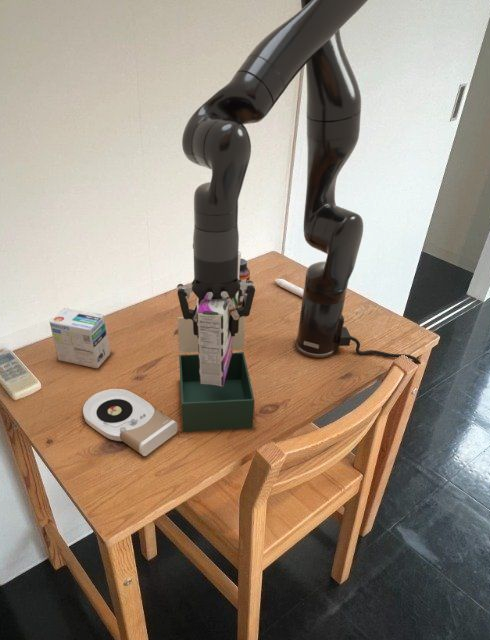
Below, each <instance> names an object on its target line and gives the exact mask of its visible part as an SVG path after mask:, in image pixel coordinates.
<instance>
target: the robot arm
mask: <svg viewBox="0 0 490 640" xmlns="http://www.w3.org/2000/svg"><path fill="white" fill-rule="evenodd" d="M368 1H369V0H300V10H299V11H298V12H297V13H295V14H293V16H291V17H290V18H288V19H287V20H285V21H284V22H283V23H282V24H280V25H279V26H277V27H276V28H275V29H273V30H272V31H271V32H270V33H268V34H267V35H266V36H265V37H264V38H263V39H262V40H260V42H259V43H258V44H257V45H256V46H255V47H253V50H251V52H250V53H249V54H248V55H247V57H246V59H245V60H244V61H243V62H242V63H241V65H240V67H239V68H238V69H237V71H236V72H235V74H234V75H233V77H232V78H231V80H230V81H229V82H228V83H227V84H225V86H223V87H221V88H220V89H219V90H218V91H216V92H215V93H214V94H213V95H212V96H211V97H210V98H208V99H207V100H206V101H205V102H204V103H202V104H201V106H199V107H198V109H196V110H195V111H194V113H193V114H192V115H191V117H190V118H189V119H188V121H187V122H186V125H185V127H184V130H183V133H182V136H181V137H182V139H181V146H182V147H181V148H182V151H183V153H184V156H185V157H186V158H187V160H188V161H190V162H191V163H192V164H194V165H197V166H200V167H203V168H205V169H208V170H211V179H210V181H208V182H204V183H201V184H200V185H199V186H197V187H196V188H195V191H194V194H193V225H194V226H193V234H192V235H193V237H192V249H193V281H192V282H191V284H187V285H184V284H183V283H178V284H177V285H176V291H177V297H178V302H179V305H180V309H181V315H182V317H183V318H184V319H191V320H192V321H193V332H194V335H197V338H198V331H197V310H198V307H199V305H200V302H201V300H202V302H210V301H211V300H212V299H223V300H224V301H228V310H229V312H230V313H231V314H230V334H231V337H232V336H235V333H238V330H239V318H240V317H242V316H245V318H247V317H249V316H250V313H251V310H252V305H253V301H254V297H255V293H256V287H255V284H254V281H252V280H250V281H248V282H247V283H243V282H239V280H238V251H240V250H239V248H240V233H239V199H240V196H241V192H242V189H243V185H244V182H245V177H246V175H247V171H248V168H249V164H250V160H251V155H252V141H251V137H250V134H249V130H248V129H247V127H246V126H245V125H250V124H257V123H260V122H262V121H263V120H264V119H265V118H266V117H267V116H268V114H269V113H270V112H271V111H272V109H273V108H274V106H275V104H276V103H277V102H278V101H279V99H280V98H281V97H282V95H283V94H284V93H285V91H286V90H287V88H288V87H289V86H290V84H291V83H292V81H293V80H294V79H295V78H296V76H297V75H298V74H299V72H301V70H303V68H304V67H305V72H306V73H305V75H306V113H305V114H306V144H307V145H306V148H307V151H306V152H307V153H306V154H307V155H306V156H307V159H306V161H307V162H306V163H307V164H306V167H307V168H306V188H305V189H306V192H305V201H304V211H303V213H304V214H303V224H302V225H303V237H304V240H305V241H306V244H308V245H309V246H310V247H311V248H313V249H315V250H317V251H320V252H322V253H324V254H326V259H325V261H318V262H315V263H312V264H310V265H309V266H308V267H307V269H306V272H305V279H304V286H303V289H304V292H303V298H302V299H301V306H300V315H299V322H298V330H297V336H296V342H295V348H296V350H297V351H298V352H299V353H300V354H302V355H303V356H306V357H308V358H312V359H313V358H314V359H322V358H323V359H324V358H328V357H330V356H332V355H334V354H338V353H339V347H347V346H350V345H351V341H353V342H354V343H355V344H356V347H355V352H356V354H358V355H361V356H366V355H370V354H373V355H380V356H383V357H388V358H399V356H401V355H405V356H407V357H408V358H407V359H410V360H412V361H414V362H415V363H416V364H418V365H421V364H422V362H421V361H420V360H419V359H418V358H417V357H416V356H414V355H411V354H405V353H390V352H384V351H380V350H375V349H374V350H373V349H369V350H365V351H361V350H360V347H361V343H360V340H358V339H357V338H356V337H354V336H352V335H351V334H350V332H349V329H348V328H347V326H344V323H345V317H344V314H343V312H344V306H345V301H346V296H347V290H348V285H349V281H350V278H351V276H352V274H353V272H354V270H355V267H356V263H357V258H358V254H359V250H360V247H361V243H362V239H363V233H364V220H363V218H362V216H361V215H360V214H359V213H357V212H355V211H352V210H350V209H347V208H344V207H341V206H339V205H337V204H336V185H337V179H338V176H339V174H340V172H341V170H342V169H343V167H344V166H345V165H346V163H347V162H348V160H349V158H350V157H351V155H352V154H353V152H354V150H355V148H356V146H357V144H358V141H359V137H360V129H361V116H362V115H361V114H362V94H361V90H360V87H359V84H358V81H357V78H356V76H355V74H354V73H355V72H354V71H353V68H352V66H351V63H350V61H349V59H348V57H347V54H346V52H345V49H344V46H343V42H342V37H341V30H340V29H341V28H342V27H344V25H345V24H346V23H347V22H349V20H350V19H352V18H353V16H354V15H356V14H357V13H358V12H359V10H361V8H363V6H365V4H367V2H368ZM239 289H241V290H242V294H243V295H244V297H243V302H242V304H241V306H238V308H237V306H236V304H235V302H234V300H233V297H234V296H235V294H236V293H237V292H238V291H239ZM192 292H193V294H194V295H195V297H197V299H196V303H195V306H194V308H193V309H191V308H190V306H189V302H188V299H189V298H190V297H191V293H192Z"/></svg>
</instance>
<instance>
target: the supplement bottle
mask: <svg viewBox="0 0 490 640" xmlns="http://www.w3.org/2000/svg"><path fill="white" fill-rule="evenodd" d="M248 281H251V270H250V268H249V267H248V261H247V260H246V259H245V258H241V260H240V272H239V282H243V283H247V282H248ZM243 297H244V295H243V294H242V290H241V289H239V295H238V305H242V302H243Z"/></svg>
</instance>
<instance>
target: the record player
mask: <svg viewBox="0 0 490 640" xmlns="http://www.w3.org/2000/svg"><path fill="white" fill-rule="evenodd" d="M82 414H83V418H84V421H85V422H86V424H87V425H88V426H90V427H91V428H92V429H93V430H95V432H98V433H99V434H100V435H102V436H104V437H105V438H107V439H109V440H112V441H116V442H123V443H124V444H126V445H127V446H129V447H130V448H131V449H133V450H134V451H136V452H137V453H139V454H140V455H141V456H143V457H146V456H148V455H149V454H151V453H152V452H153V451H155V450H156V449H157V448H159V447H160V446H161V445H163V444H164V443H165V442H167V441H168V440H169V439H171V438H172V437H173V436H174V435H176V434H177V432H178V428H179V427H178V422H177V421H175V420H174V419H172V418H170V417H169V416H167V415H165V414H164V413H162V412H161V411H159V410H157V409H156V408H154V406H153V405H152V404H151V403H149V402H148V401H146V400H145V399H144V398H142V397H141V396H138V395H137V394H135V393H134V392H132V391H130V390H128V389H123V388H110V389H105V390H102V391H99V392H96V393H95V394H93V395H92V396H90V397H89V398H88V399H87V400H86V401H85V403H84V405H83V407H82Z"/></svg>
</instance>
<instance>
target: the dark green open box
mask: <svg viewBox="0 0 490 640" xmlns="http://www.w3.org/2000/svg"><path fill="white" fill-rule="evenodd" d="M178 360H179V361H178V362H179V364H178V365H179V384H180V385H179V386H180V387H179V388H180V399H181V400H180V403H181V422H182V424H181V425H182V433H189V432H208V431H209V432H210V431H228V430H230V431H231V430H249V429H250V430H251V429H253V424H254V412H255V397H254V392H253V387H252V383H251V378H250V374H249V369H248V365H247V360H246V355H245V352H243V351H242V352H232V356H231V360H230V364H229V367H228V371H227V375H226V378H225V382H224V386H223V387H220V386H211V385H202V384H200V376H199V353H197V354H196V353H193V354H179V355H178Z"/></svg>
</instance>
